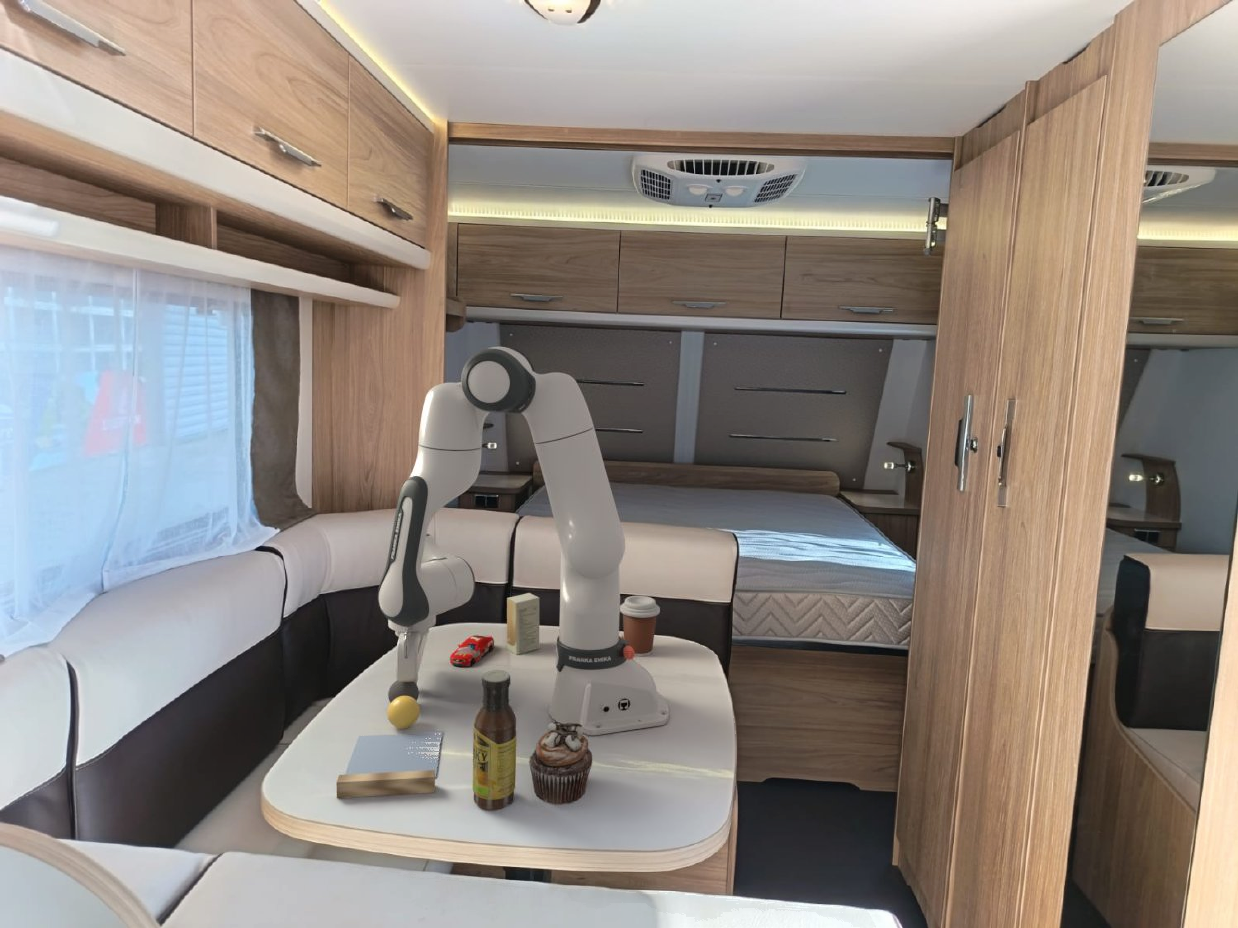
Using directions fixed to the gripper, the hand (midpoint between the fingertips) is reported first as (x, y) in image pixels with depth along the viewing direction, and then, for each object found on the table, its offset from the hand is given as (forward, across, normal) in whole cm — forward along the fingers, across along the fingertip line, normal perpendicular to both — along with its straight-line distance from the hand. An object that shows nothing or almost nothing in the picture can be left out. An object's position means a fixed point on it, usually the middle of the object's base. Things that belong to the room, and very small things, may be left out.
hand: (412, 683), depth 146 cm
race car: (+2, +17, -11) cm, 20 cm away
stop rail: (+2, -34, 0) cm, 34 cm away
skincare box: (+2, +20, -22) cm, 30 cm away
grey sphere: (-1, -7, +1) cm, 7 cm away
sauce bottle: (+2, -38, -16) cm, 41 cm away
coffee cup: (+2, +17, -48) cm, 51 cm away
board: (+2, -24, 0) cm, 24 cm away
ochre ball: (-1, -14, 0) cm, 14 cm away
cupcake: (+2, -36, -26) cm, 44 cm away
